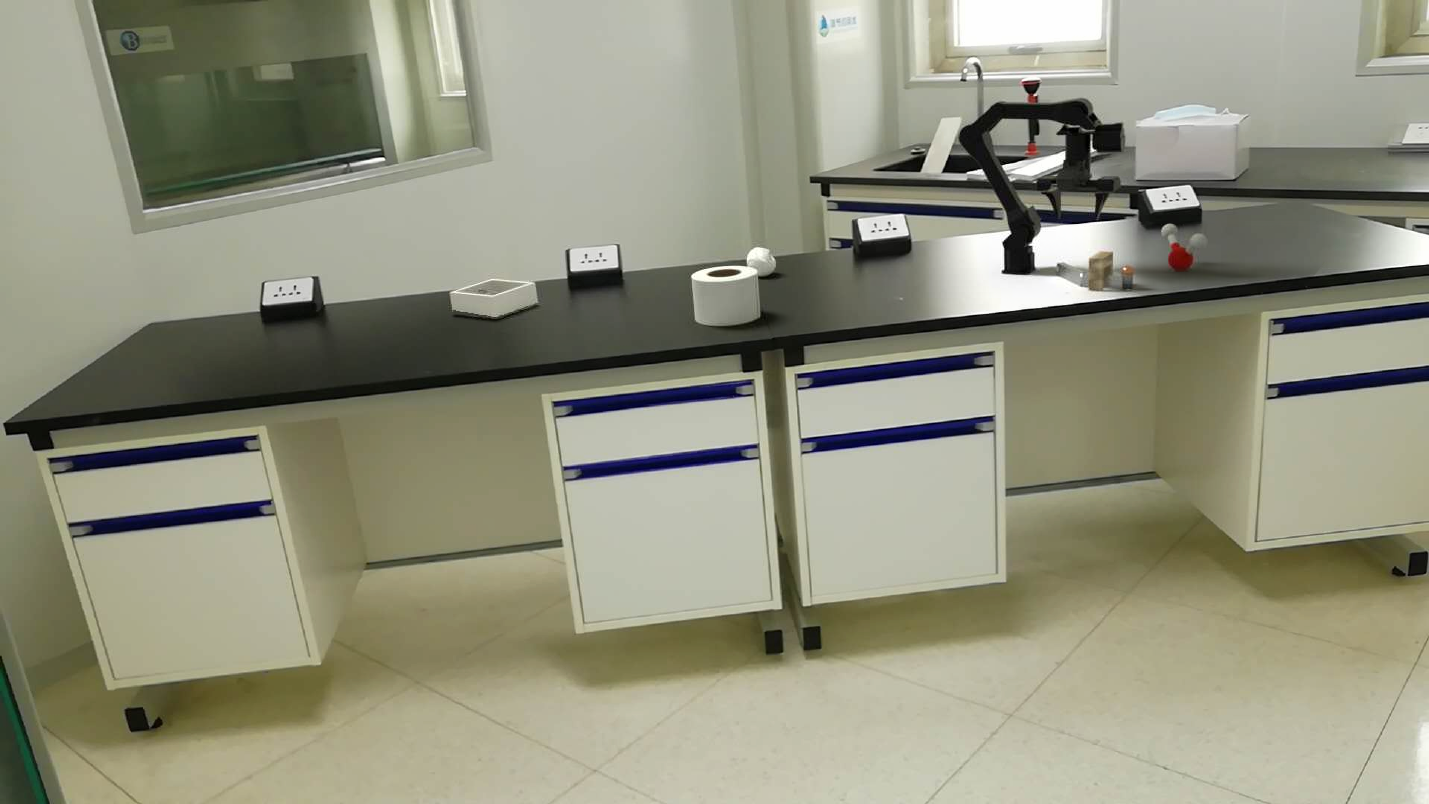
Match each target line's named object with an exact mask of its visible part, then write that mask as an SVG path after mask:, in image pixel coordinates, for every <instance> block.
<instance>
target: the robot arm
mask: <svg viewBox="0 0 1429 804" xmlns="http://www.w3.org/2000/svg"><path fill="white" fill-rule="evenodd" d="M1002 120H1031V121H1032V120H1035V121H1036V120H1041V121H1043V120H1044V121H1045V120H1046V121H1053V122H1056V123H1058V124H1062V127H1061V128H1060V129H1059V130H1058V131H1057V132H1056V136H1064V138H1065V139H1064V140H1065V141H1064V142H1065V143H1064V148H1065V151H1064V156H1065V157H1064V159H1062V161H1063V162H1062V168H1061V169H1060V170H1059V172H1058V173H1057V175H1044V176H1041V177H1040V178H1037V180H1036V182H1035V191H1036V192H1037V191H1038V192H1039V191H1040V193H1041V195H1044V196H1045V197H1047V199H1048V201H1049V202H1050V203H1051V206H1052V210H1053V212H1054V215H1055V218H1056V220H1060V219H1061V214H1062V191H1076V190H1078V189H1079V188H1088V189H1089V188H1090V189H1091V188H1092V189H1093V188H1094V189H1096V190H1097V192H1095V193H1094V196H1095V197H1094V198H1095V207H1094V220H1095V221H1098V220H1099V219H1100V215H1101V213H1102V211H1103V208H1104V206H1105V204H1106V202H1107V199H1108V198H1109V196H1110V194H1112V193H1115V191H1117V190H1119V189H1121V187H1122V186H1121V184H1122V183H1121V182H1122V181H1121V178H1120V177H1119V175H1118V176H1117V175H1114V176H1113V175H1103V176H1101V177H1099V178H1097V179H1092V178H1093V174H1092V173H1091V162H1092V161H1093V156H1092V155H1091V153H1092V152H1091V149H1093V150H1094V151H1096V153H1097V154H1122V153H1124V151H1125V149H1126V148H1125V146H1126V134H1125V128H1124V122H1122V121H1121V122H1114V123H1102V121H1101V120H1100V119H1099V117H1098V116H1097V115H1096V113H1095V112H1094V107H1093V104H1092V102H1091V101H1090V100H1089V98H1085V97H1078V98H1071V99H1066V100H1062V101H1061V100H1060V101H1057V102H1056V101H1054V102H1021V101H1020V102H1019V101H1018V102H1017V101H1016V102H1015V101H1014V102H1013V101H1011V102H1008V101H1007V102H1006V101H1003V100H1000V101H997V102H994V103H992V104H991V105H990V107H989V108H988V109H987V110H986V111H985V112H984V113H983V114H981V116H979V117H978V118H977V119H976V120H975V121H974V122H972V123H968V124H966V125H965V126H963V127H962V128H961V129H960V131H959V134H958V137H957V139H958V142H959V144H960V145H961V147H962V148H963V149H964V150H965V151H966V153H967V154H968V155H969V156H971V158H973V159H974V160H975V161H976V162H977V163H978V165H979V167H980V168H981V170H982V171H983V173H984V175H985V177H986V179H987V181H988V183H989V184H990V186H991V188H992V190H993V191H994V193H995V195H996V197H997V199H998V200H999V203H1000V204H1001V206H1002V207H1003V210H1004V212H1005V215H1006V220H1007V225H1008V228H1009V231H1010V234H1008V236H1006V237H1005V239H1004V240H1003V241H1002V242H1001V245H1002V247H1003V267H1004V268H1003V269H1002V270H1001V273H1002V274H1012V275H1013V274H1015V275H1027V274H1029V273H1031V272H1033V271H1035V270H1036V266H1035V262H1036V261H1035V260H1036V259H1035V258H1036V256H1035V254H1036V253H1035V252H1034V251H1033V250H1034V249H1033V248H1034V247H1033V245H1031V244H1032V243H1033V241H1034V239H1035V238H1036V237H1037V236H1039V234H1040V233H1041V230H1042V223H1041V220H1042V217H1040V216H1039V214H1038V213H1037V210H1036V208H1035V206H1034V205H1030V207H1028V206H1026V205H1025V204H1024V203H1023V202H1022V200H1021V198H1020V196H1019V195H1018V193H1017V190H1016V189H1015V187H1014V186H1013V184H1012V182H1011V180H1010V178H1009V176H1008V175H1007V173H1006V172H1005V169H1004V168H1003V166H1002V164H1001V162H1000V161H999V158H998V157H997V155H996V153H995V149H994V142H993V139H992V136H991V133H990V132H991V131H993V129H995V128H996V126H997V125H998V124H999V123H1001V121H1002ZM1091 135H1092V136H1091ZM1091 146H1092V147H1091Z"/></svg>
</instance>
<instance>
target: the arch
mask: <svg viewBox="0 0 1429 804" xmlns="http://www.w3.org/2000/svg"><path fill="white" fill-rule="evenodd" d="M1113 265H1114V252H1113V251H1098V252H1097V253H1095V254H1094V255H1092V256H1090V257H1089V258H1088V273H1089V287H1088V291H1089V290H1091V291H1090V292H1103V291H1104V288H1103V286H1104V274H1114V273H1113V271H1114V270H1113V268H1114V266H1113ZM1102 290H1103V291H1102Z"/></svg>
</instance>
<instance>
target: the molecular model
mask: <svg viewBox="0 0 1429 804" xmlns="http://www.w3.org/2000/svg"><path fill="white" fill-rule="evenodd" d="M1178 230H1179V229H1178V227H1177V226H1176V225H1175V224H1173V223H1167V224H1165V225H1164V226H1162V228H1161V233H1160V234H1161V236H1162V237H1163V238H1164V239H1166V240H1168V242H1169V245H1170V247H1171V251H1170V252H1169V253H1168V256H1167V262H1168V265H1169V267H1170V268H1171V269H1173V270H1174V271H1178V272H1183V271H1186V270H1187V269H1189V268H1190V267H1191V266H1192V264H1193V262H1194V254H1193V253H1194V252H1195V251H1197V250H1198V251H1199V250H1201V249H1203V248H1205V247H1206V246H1207V244H1208V239H1207V237H1206V236H1205V234H1203V233H1201V232H1200V233H1195V234H1193V235H1192V236H1191V237H1190V240H1189V244H1188V246H1187V247H1185V246H1180V243H1179V240H1178V238H1177V235H1178Z"/></svg>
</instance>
